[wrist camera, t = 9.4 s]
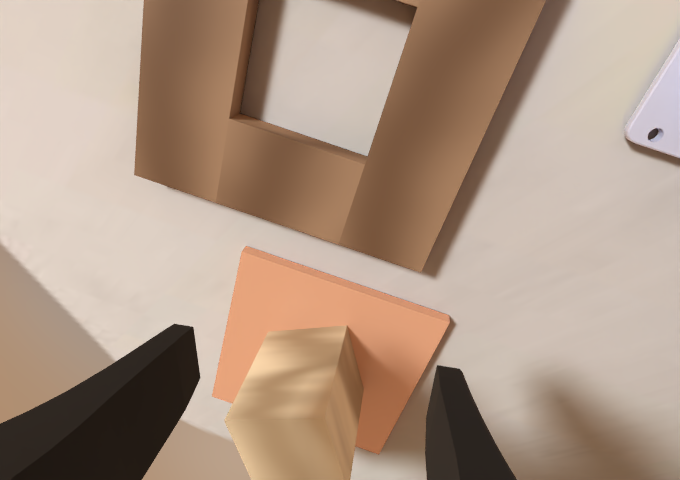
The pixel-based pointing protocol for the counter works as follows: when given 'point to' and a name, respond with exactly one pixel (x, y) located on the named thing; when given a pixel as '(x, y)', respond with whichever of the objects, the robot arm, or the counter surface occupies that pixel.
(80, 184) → the counter surface
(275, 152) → the pocket plate
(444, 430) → the robot arm
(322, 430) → the birch block
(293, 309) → the tile
